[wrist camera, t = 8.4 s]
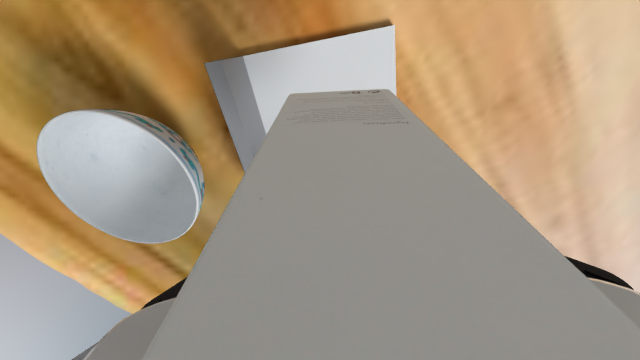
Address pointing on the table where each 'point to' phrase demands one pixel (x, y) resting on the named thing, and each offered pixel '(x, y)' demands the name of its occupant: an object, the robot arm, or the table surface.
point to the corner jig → (297, 80)
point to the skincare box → (380, 255)
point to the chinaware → (122, 173)
